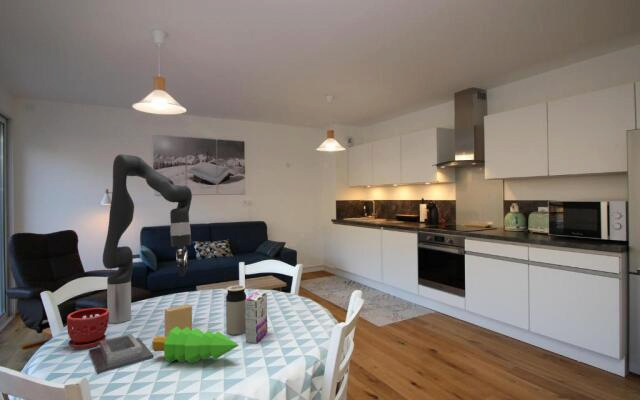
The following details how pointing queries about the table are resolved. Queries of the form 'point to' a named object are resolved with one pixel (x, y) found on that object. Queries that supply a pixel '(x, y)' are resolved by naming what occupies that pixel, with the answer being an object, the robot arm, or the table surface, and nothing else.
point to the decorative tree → (192, 345)
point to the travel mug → (235, 310)
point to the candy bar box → (256, 317)
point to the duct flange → (119, 353)
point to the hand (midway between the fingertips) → (183, 274)
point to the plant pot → (87, 327)
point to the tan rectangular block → (178, 318)
